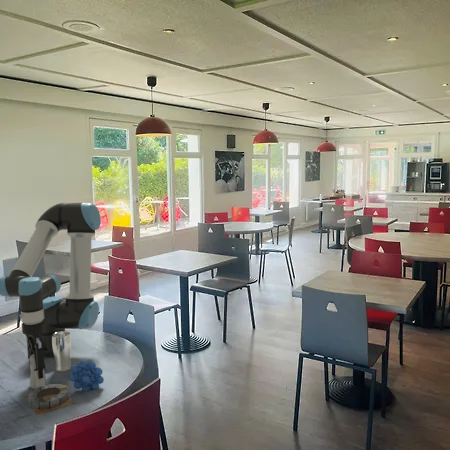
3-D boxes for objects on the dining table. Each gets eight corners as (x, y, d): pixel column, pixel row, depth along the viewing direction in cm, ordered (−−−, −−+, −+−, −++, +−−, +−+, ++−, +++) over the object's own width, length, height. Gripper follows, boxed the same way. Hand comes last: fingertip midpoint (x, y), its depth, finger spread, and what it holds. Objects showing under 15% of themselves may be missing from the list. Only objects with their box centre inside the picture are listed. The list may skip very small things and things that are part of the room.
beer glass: (76, 368, 182) (74, 331, 180) (65, 375, 176) (62, 338, 174) (62, 365, 185) (59, 330, 183) (50, 373, 178) (47, 336, 176)
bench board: (24, 399, 158) (24, 396, 158) (59, 388, 166) (59, 385, 166) (38, 419, 146) (37, 415, 146) (75, 406, 153) (75, 403, 153)
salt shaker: (33, 385, 169) (30, 351, 167) (49, 384, 169) (46, 351, 167) (27, 393, 163) (24, 358, 161) (44, 392, 163) (41, 357, 162)
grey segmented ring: (25, 398, 157) (24, 390, 156) (61, 387, 164) (61, 379, 164) (35, 413, 147) (34, 404, 147) (74, 400, 154) (73, 392, 154)
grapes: (69, 400, 157) (67, 367, 155) (70, 391, 163) (68, 359, 162) (104, 395, 160) (102, 362, 159) (104, 386, 167) (102, 355, 165)
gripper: (15, 316, 168) (20, 376, 171) (29, 330, 153) (34, 396, 156) (36, 312, 172) (41, 370, 175) (52, 325, 157) (56, 389, 161)
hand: (38, 382), depth 166 cm, fingers closed on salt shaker, 6 cm apart
